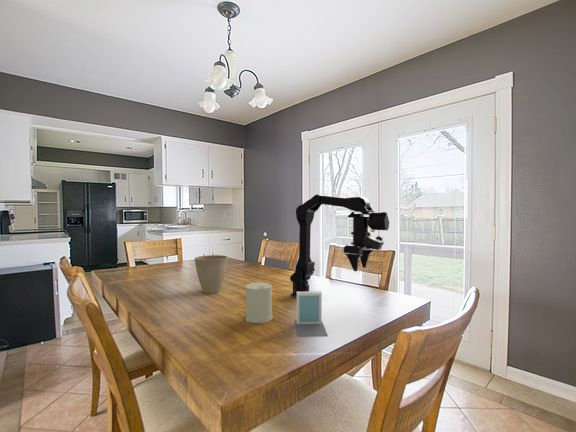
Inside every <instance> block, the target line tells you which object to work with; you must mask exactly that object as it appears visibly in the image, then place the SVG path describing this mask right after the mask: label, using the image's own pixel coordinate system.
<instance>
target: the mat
mask: <svg viewBox="0 0 576 432" xmlns="http://www.w3.org/2000/svg"><path fill="white" fill-rule="evenodd" d="M294 324H295V330H296V331H295V332H296V335H297V338H309V337H310V338H311V337H313V338H315V337H318V338H319V337H329V335H328V333H327V331H326V327H325V326H324V322H323V321H322V324H297V319H295V320H294Z"/></svg>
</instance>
